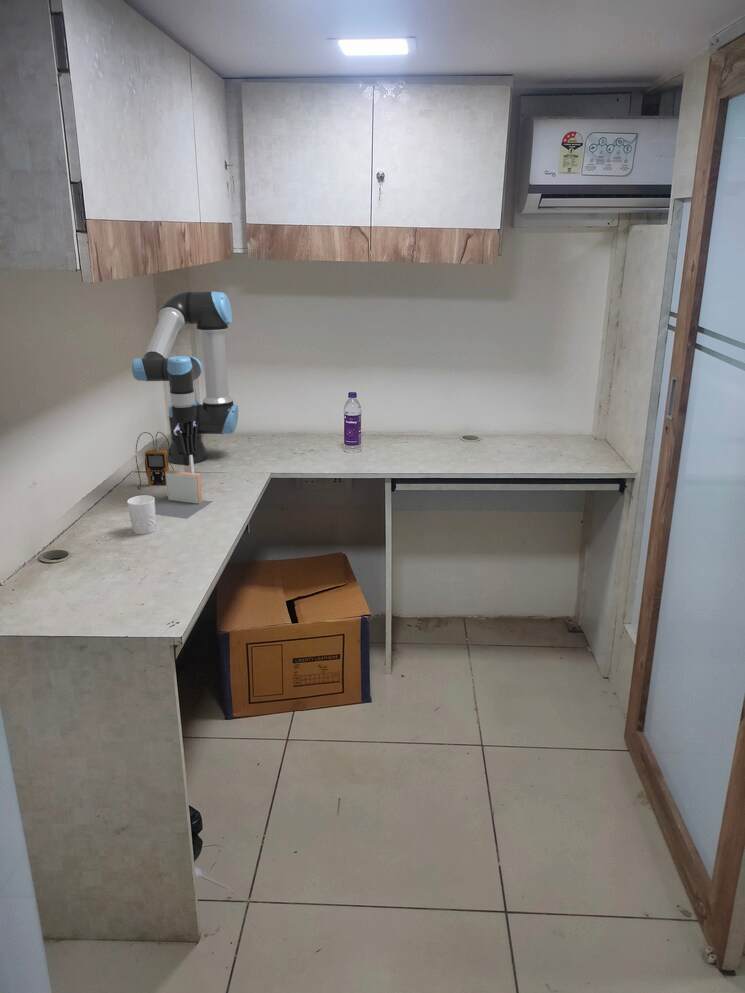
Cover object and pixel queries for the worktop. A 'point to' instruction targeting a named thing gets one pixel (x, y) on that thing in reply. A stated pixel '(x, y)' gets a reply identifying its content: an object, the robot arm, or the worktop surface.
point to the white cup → (142, 514)
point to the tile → (184, 487)
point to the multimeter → (155, 465)
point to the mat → (178, 508)
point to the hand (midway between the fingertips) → (189, 473)
